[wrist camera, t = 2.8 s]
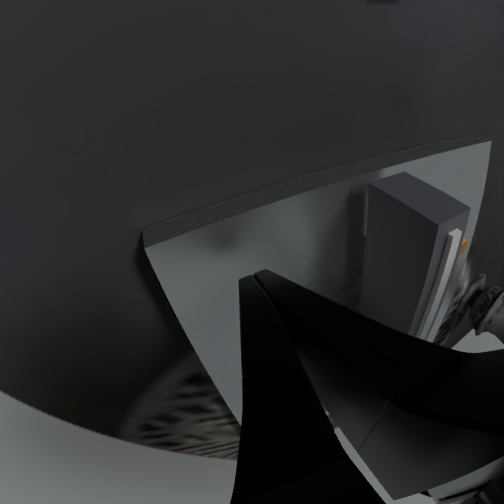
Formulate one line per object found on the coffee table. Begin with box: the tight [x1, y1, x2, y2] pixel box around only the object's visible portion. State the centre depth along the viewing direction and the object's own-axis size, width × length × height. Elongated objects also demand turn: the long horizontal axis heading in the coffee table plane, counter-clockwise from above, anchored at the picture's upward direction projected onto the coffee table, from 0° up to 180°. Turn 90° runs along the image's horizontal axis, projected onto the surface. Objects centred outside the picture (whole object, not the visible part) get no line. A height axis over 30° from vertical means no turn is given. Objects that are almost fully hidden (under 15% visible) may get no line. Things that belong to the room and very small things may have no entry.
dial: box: [320, 172, 471, 411], centre depth 12 cm, size 14×8×4 cm, turn 10°
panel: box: [142, 134, 491, 425], centre depth 16 cm, size 20×18×1 cm
